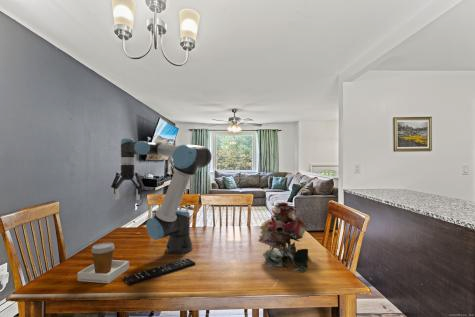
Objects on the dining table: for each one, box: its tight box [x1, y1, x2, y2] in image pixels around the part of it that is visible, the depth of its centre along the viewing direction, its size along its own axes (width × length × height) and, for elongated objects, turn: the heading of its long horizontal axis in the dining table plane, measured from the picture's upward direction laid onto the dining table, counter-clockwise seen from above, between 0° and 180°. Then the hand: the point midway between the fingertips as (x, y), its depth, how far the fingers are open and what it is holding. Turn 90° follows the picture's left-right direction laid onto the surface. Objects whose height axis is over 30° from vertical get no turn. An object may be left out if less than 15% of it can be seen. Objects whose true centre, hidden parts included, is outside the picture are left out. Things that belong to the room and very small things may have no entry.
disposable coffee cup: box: [91, 242, 115, 274], centre depth 114 cm, size 10×10×12 cm
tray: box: [77, 259, 130, 284], centre depth 114 cm, size 15×15×4 cm
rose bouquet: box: [258, 202, 309, 273], centre depth 131 cm, size 26×29×30 cm
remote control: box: [123, 258, 196, 286], centre depth 117 cm, size 8×32×2 cm, turn 131°
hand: (127, 199), depth 150 cm, fingers open, 13 cm apart
